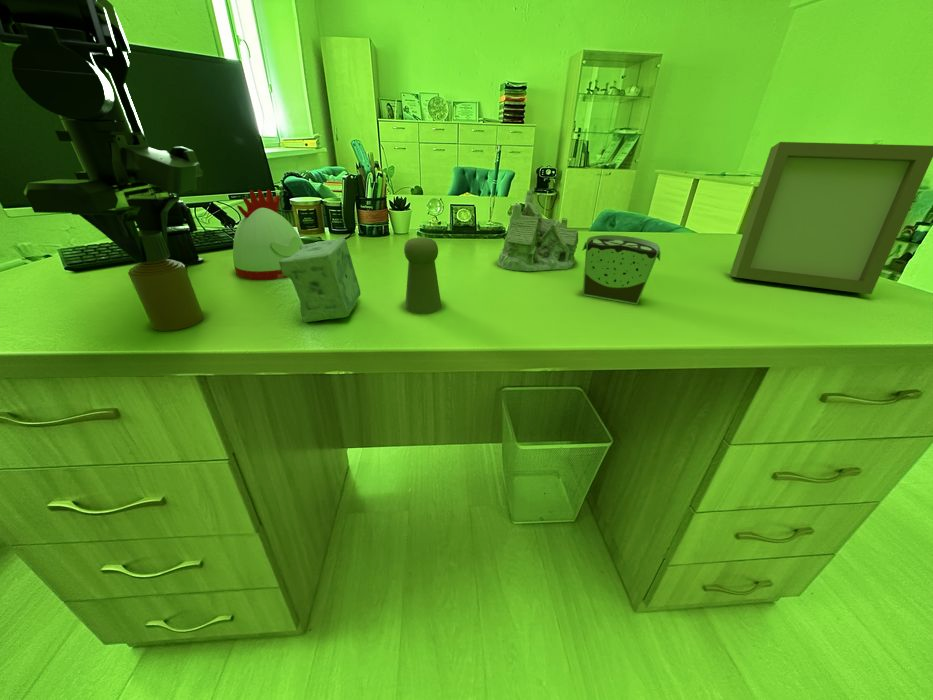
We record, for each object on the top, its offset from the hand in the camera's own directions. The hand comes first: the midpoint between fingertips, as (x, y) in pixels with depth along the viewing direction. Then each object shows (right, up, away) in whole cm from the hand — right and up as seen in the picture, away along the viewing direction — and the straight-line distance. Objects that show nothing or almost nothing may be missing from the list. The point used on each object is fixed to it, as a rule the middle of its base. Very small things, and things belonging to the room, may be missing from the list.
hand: (152, 257), depth 49 cm
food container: (+69, -2, +19) cm, 71 cm away
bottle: (0, -8, +5) cm, 10 cm away
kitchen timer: (+2, +4, +27) cm, 27 cm away
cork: (+35, -5, +12) cm, 37 cm away
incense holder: (+20, -6, +9) cm, 23 cm away
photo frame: (+110, +3, +29) cm, 113 cm away
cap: (0, 0, 0) cm, 0 cm away
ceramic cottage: (+58, +7, +34) cm, 68 cm away
